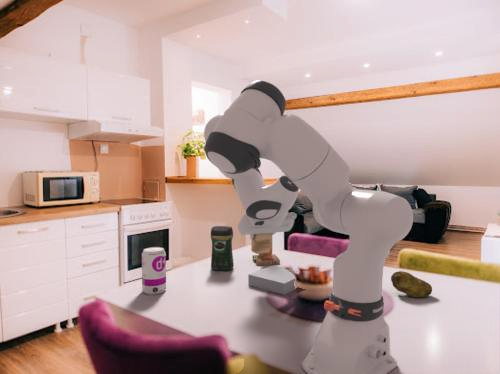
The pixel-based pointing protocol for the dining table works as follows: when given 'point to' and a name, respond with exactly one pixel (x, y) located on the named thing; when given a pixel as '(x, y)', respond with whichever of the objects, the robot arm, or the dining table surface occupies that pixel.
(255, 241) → the oak block
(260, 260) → the bird sculpture
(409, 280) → the potato
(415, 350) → the dining table surface
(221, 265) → the coffee jar
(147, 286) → the supplement can
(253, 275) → the grey stand
